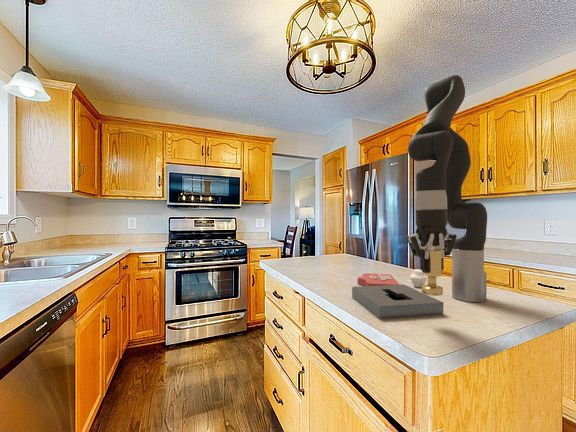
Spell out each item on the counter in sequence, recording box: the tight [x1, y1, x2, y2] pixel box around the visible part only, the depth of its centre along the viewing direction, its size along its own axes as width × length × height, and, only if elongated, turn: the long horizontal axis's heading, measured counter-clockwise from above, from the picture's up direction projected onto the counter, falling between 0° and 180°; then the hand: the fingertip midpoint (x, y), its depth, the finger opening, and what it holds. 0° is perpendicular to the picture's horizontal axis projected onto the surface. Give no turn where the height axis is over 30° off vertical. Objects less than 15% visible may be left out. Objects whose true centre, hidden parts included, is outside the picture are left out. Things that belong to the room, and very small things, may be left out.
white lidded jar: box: [409, 268, 428, 288], centre depth 109 cm, size 6×6×7 cm
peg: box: [421, 249, 444, 297], centre depth 72 cm, size 5×5×12 cm
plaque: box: [357, 272, 400, 287], centre depth 111 cm, size 18×4×15 cm
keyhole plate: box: [351, 283, 444, 320], centre depth 86 cm, size 20×20×4 cm
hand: (431, 271), depth 72 cm, fingers closed on peg, 3 cm apart
